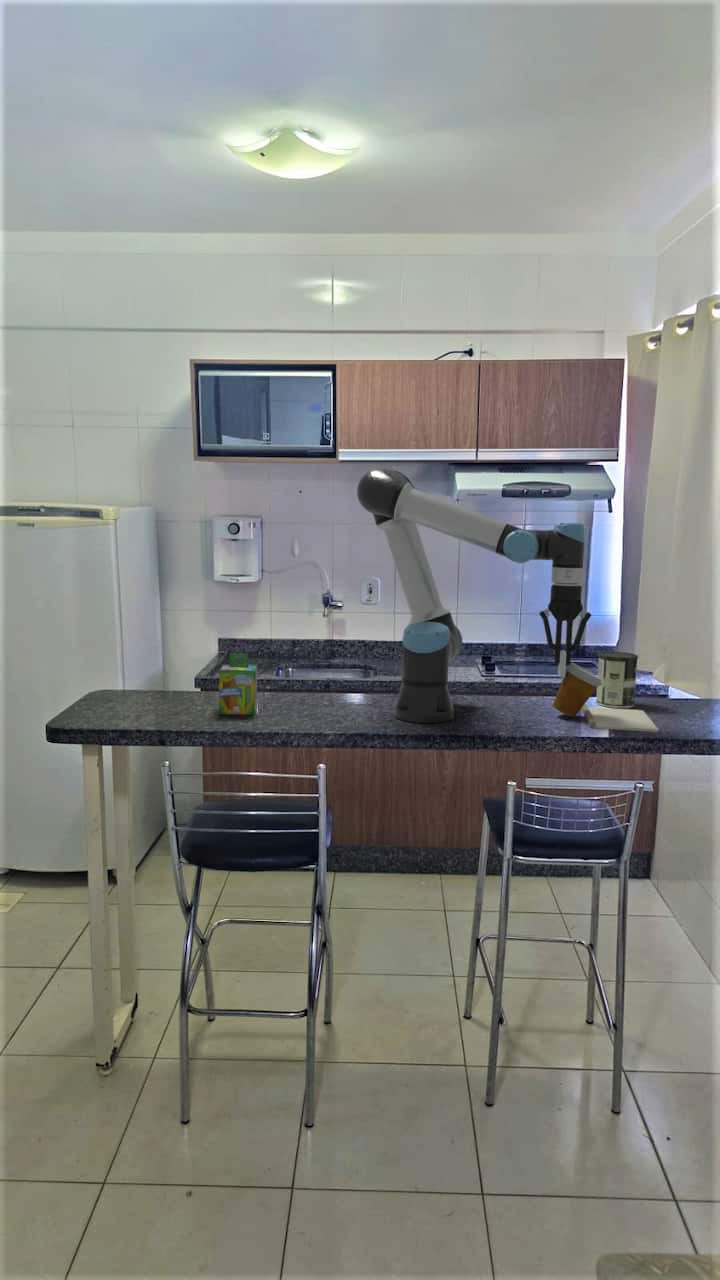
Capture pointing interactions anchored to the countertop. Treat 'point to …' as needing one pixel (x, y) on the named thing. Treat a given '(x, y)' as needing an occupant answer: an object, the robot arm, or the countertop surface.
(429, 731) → the countertop surface
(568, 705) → the disposable coffee cup
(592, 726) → the cream flat rectangular board
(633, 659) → the coffee can
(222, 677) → the chalk box
